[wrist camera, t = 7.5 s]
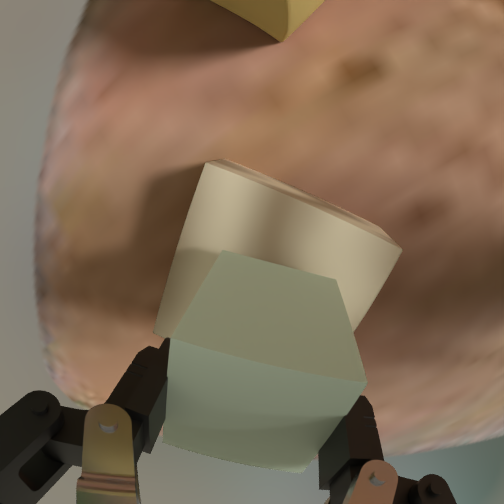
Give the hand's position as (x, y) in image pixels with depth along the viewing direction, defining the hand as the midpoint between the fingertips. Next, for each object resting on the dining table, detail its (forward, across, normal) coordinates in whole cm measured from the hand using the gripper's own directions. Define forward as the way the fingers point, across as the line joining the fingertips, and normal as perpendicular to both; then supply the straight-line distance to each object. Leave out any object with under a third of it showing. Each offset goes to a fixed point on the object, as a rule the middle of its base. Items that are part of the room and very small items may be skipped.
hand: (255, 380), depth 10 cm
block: (+5, 0, 0) cm, 5 cm away
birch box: (+11, 0, 0) cm, 11 cm away
